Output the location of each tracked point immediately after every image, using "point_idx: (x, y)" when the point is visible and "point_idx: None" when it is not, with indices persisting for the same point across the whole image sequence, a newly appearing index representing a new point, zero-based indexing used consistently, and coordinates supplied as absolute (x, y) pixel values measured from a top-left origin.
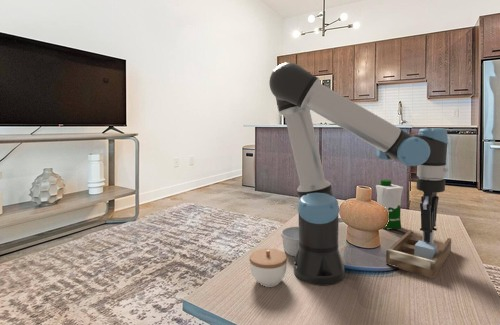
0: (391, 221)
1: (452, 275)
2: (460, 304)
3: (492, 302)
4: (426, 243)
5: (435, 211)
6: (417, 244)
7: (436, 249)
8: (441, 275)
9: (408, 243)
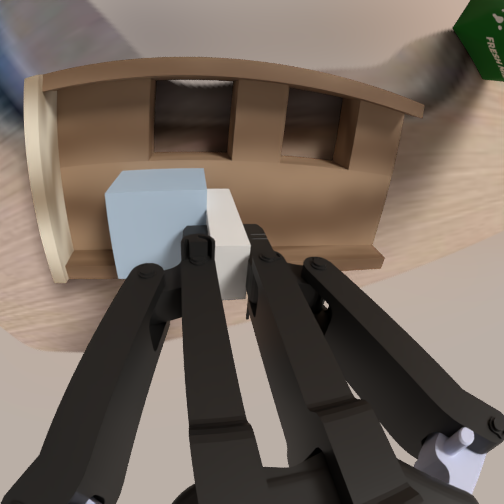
0: (485, 42)
1: None
2: (21, 310)
3: (82, 349)
4: (179, 235)
5: (361, 392)
6: (126, 202)
7: None
8: None
9: (343, 97)
